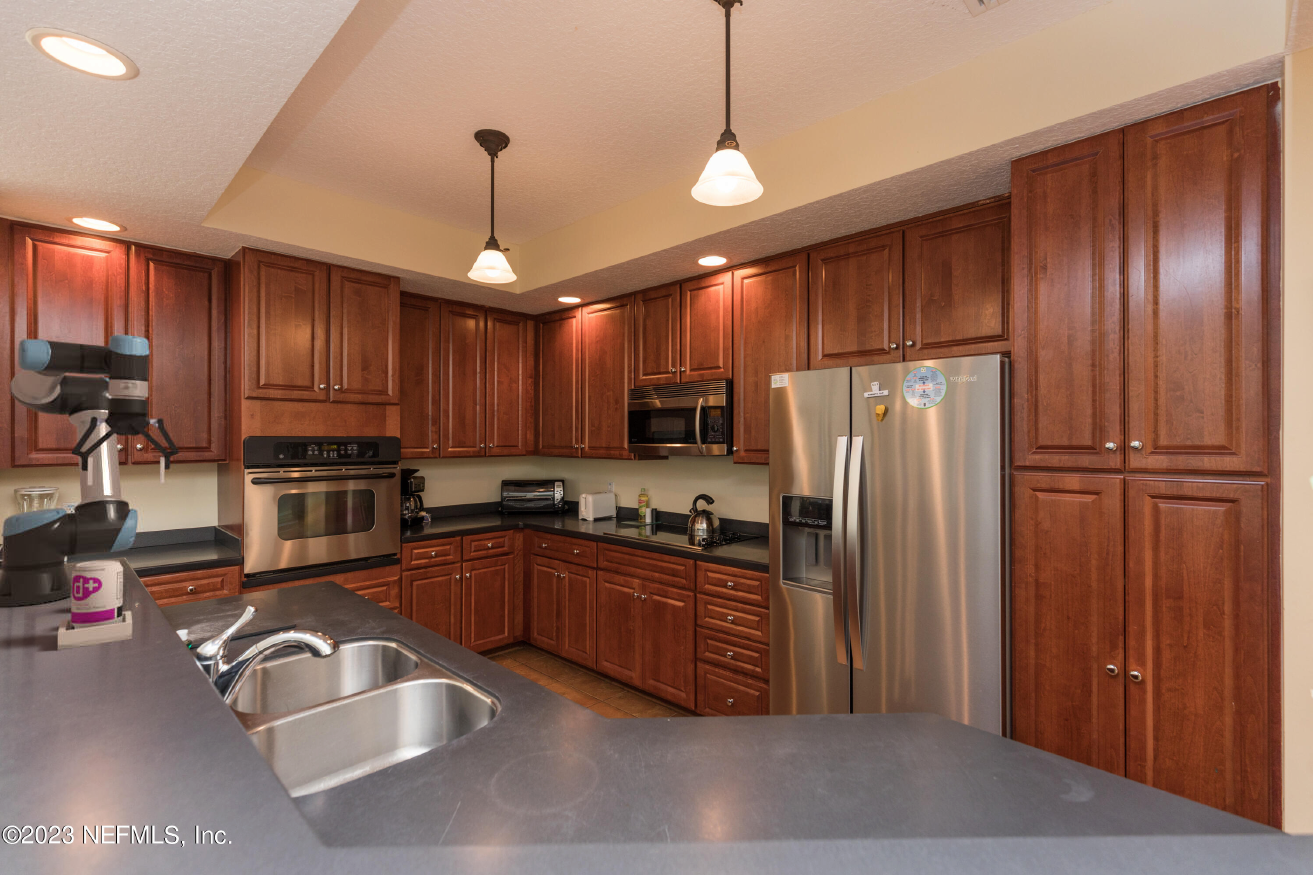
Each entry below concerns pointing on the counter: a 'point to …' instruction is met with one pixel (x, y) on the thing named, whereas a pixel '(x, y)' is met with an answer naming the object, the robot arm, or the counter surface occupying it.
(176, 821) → the counter surface
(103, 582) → the supplement can
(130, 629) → the off-white tray
